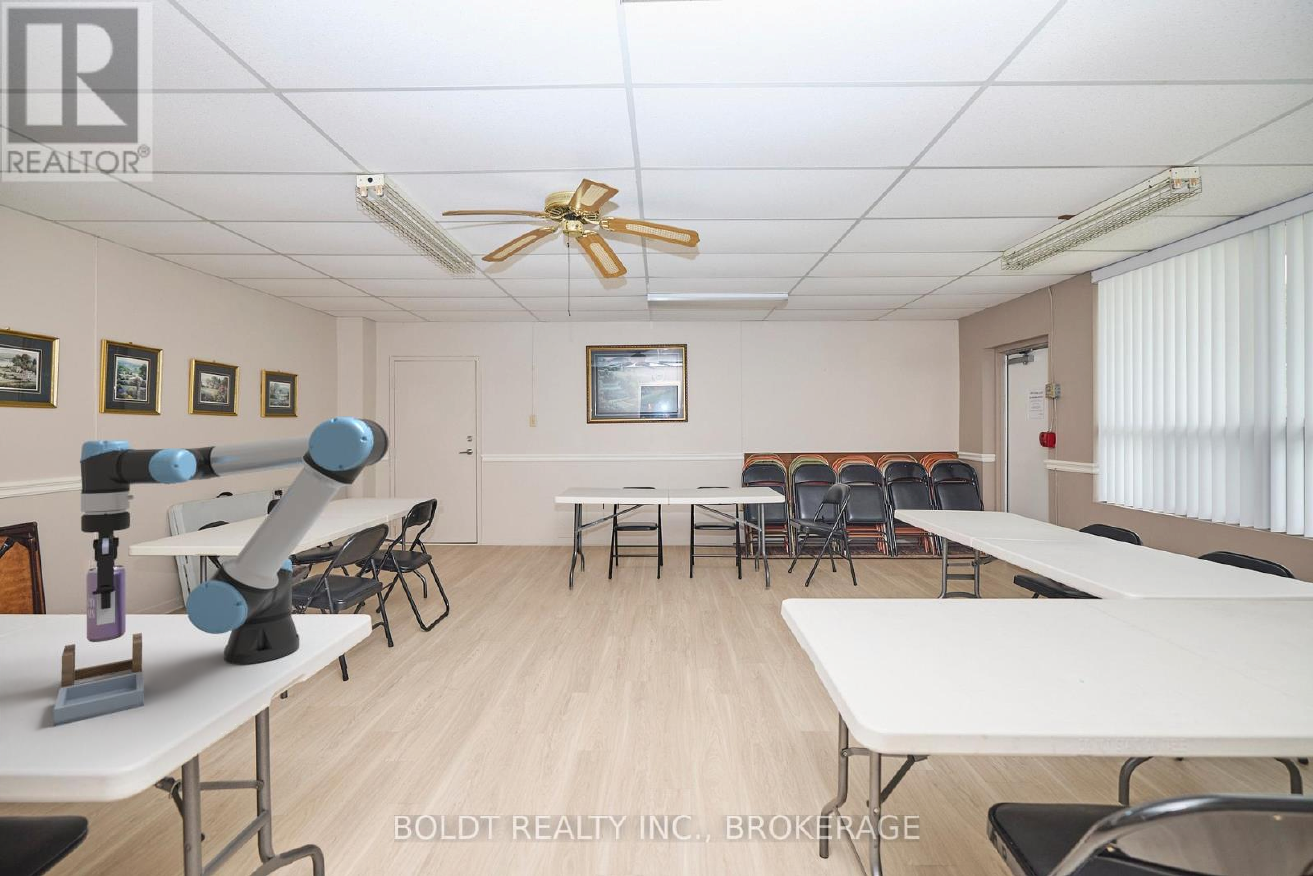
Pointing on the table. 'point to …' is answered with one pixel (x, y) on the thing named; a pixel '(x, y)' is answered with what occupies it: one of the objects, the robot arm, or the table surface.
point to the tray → (99, 698)
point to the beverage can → (119, 626)
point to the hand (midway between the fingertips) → (106, 619)
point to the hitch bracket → (72, 675)
